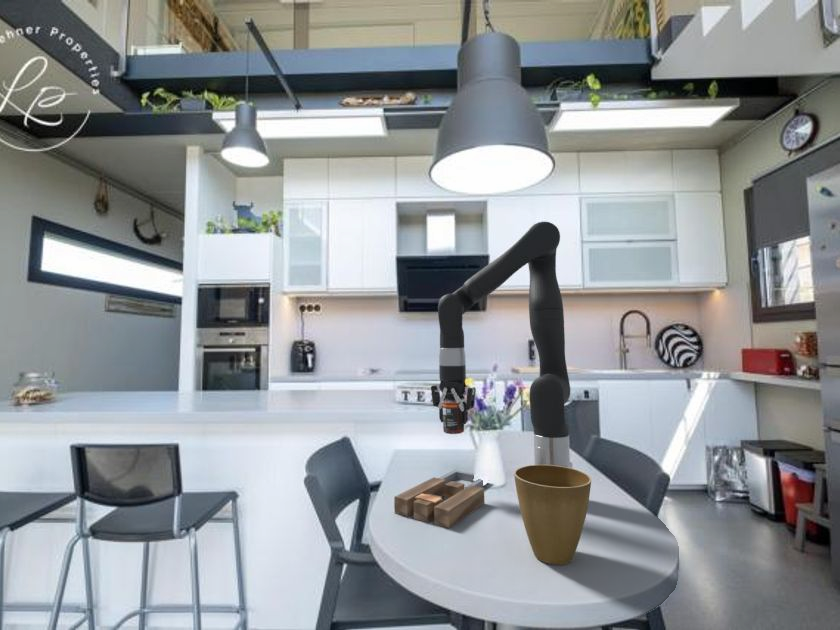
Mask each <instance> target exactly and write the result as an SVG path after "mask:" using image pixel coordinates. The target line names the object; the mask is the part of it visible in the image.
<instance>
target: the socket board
mask: <svg viewBox="0 0 840 630" xmlns="http://www.w3.org/2000/svg"><path fill="white" fill-rule="evenodd" d="M467 486H468V485H467ZM443 497H445V498H444V500H443V499H442V498H443ZM393 502H394V514H397V515H401V516H404V517H409V516H411V515H413V519H415V520H419V521H421V522H425V523H428V522H431V520H433V519H434V521H433V522H434V523H433V524H434V525H435V526H440V527H442V528H446V529H450V528H451V527H453V526H454V525H456V524H457V523H459V522H460V521H462V520H463V519H465V518H466V517H467V516H469V515H470V514H472V513H473V512H475V510H477V509H479V508H480V507H481V506H483V505H484V504H485V488H484V487H477V486H473V485H470V486H468V487H467V488H465V483H464V482H463V483H462V482H457V481H454V480H453V481H451V482H449V483H447V484H446V480H444V479H439V477H432V478H429V479H428V480H425V481H424V482H422V483H420V484H417V485H416V486H413V487H411V488H409V489H407V490H405V491H403V492H401V493H399V494H396V495H395V496H394V501H393Z"/></svg>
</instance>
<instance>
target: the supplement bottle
mask: <svg viewBox="0 0 840 630" xmlns="http://www.w3.org/2000/svg"><path fill="white" fill-rule="evenodd" d="M460 411H461V410H460V407H459V404H457V403H456V400H455V398H454V395H453V394H452V393H446V399H445V400H444V401H443V422H442V425H443V426H442V427H443V428H442V429H443V433H445V434H450V435H457V434H458V435H459V434H460V435H461V434H463V433H464V431H465V424H464V425H461V424H460Z"/></svg>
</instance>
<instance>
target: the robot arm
mask: <svg viewBox="0 0 840 630" xmlns="http://www.w3.org/2000/svg"><path fill="white" fill-rule="evenodd" d="M560 241H561V233H560V229H559V228H558V227H557V226H556V225H555V224H553V223H552V222H550V221H538V222H536V223H534V224H533V225H532V226H531V227H530V228H529V229H528V230H527V231H526V232H525V233H524V234H523V235H522V236H521V237H520V238H519V239H518V240H517V241H516V242H515V243H513V245H512V246H511V247H509V248H508V249H507V250H506V251H504V253H502V254H501V255H500V256H498V257H497V258H496V259H494V260H492V262H490V263H488V264H487V265H485V266H484V267H483V268H482V269H480V270H479V271H478V272H476V273H475V274H473V275H472V276H471V277H469V278H468V279H467V280H466V281H464V283H463V285H462V286H460V287H459V288H458V289H457V290H455V291H454V292H453V293H446V294H445V295H443V296H441V298H440V299H439V301H438V305H437V315H438V324H439V325H438V326H439V354H438V357H439V358H438V363H439V364H438V365H439V367H438V371H439V374H438V375H439V376H438V377H439V380H440V383H439V384H433V385H431V387H430V391H431V398H432V399H431V400H432V405H433V407H437V408H438V409H439V413H438V415H439V420H440V422H441V423H443V401H444V400H445V399H446V393H452V394H453V395H454V398H455V400H456V403H457V404H459V407H460V410H461V411H460V424H461V425H464V426H465V425H466V424H467V423H468V421H469V417H468V416H469V415H468V414H469V413H468V411H469V410H472V409H474V407H475V401H476V392H477V391H476V390H477V389H476V387H475V386H473V387H469V386H467V384H466V379H467V372H466V367H467V366H466V364H467V363H466V352H465V334H464V333H465V332H464V329H463V315H464V314H465V313H467V311H469V310H470V309H471V308H472V307H474V305H476V304H477V303H478V302H480V301H481V300H483V299H485V298H486V297H488V296H489V295H490V294H492V293H493V292H494V291H495V290H497V289H498V288H499V287H501V286H502V285H504V283H505V282H506V281H507V280H509V279H510V278H511V277H512V276H513V275H514V274H515V273H517V272H518V271H519V270H520V269H521V268H523V267H524V266H526V265H527V264H528V265H527V266H528V271H529V288H528V289H529V290H528V291H529V292H528V313H529V314H528V315H529V326H530V331H531V336H532V340H533V341H534V345H535V347H536V350H537V354H538V358H539V359H538V360H539V361H538V362H539V376H538V377H537V378H535V379H534V380H533V382H532V383H531V384H530V388H529V411H530V412H529V413H530V421H531V424H532V428H533V449H534V450H533V453H534V455H533V457H534V461H533V462H534V465H555V466H562V467H568V468H572V469H574V468H573V462H571V453H570V450H571V449H570V427H569V424H568V423H567V421H566V414H565V412H566V411H565V404H566V403H568V401H569V399H570V397H571V384H570V378H569V373H568V372H569V371H568V368H567V361H566V341H565V339H566V338H565V337H566V336H565V316H564V315H565V314H564V305H563V304H564V303H563V298H562V294H561V289H560V286H559V282H558V279H557V269H556V268H557V265H556V264H557V263H556V262H557V261H556V260H557V258H556V257H557V249H558V247H559V244H560ZM440 392H441V393H440ZM465 395H466V396H465Z"/></svg>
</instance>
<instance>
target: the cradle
mask: <svg viewBox="0 0 840 630" xmlns="http://www.w3.org/2000/svg"><path fill="white" fill-rule="evenodd" d="M474 474H475V473H473V472H468V471H462V470H457V469H453V470H452V471H450V472H448V473H445V474H444V475H441V476H440V477H438V478H439V479H444V480H446V484H447V483H449V482H451V481H454V480H456V479H457V480H463V481H468V482H472V483H470V484H468V485H466V486H464V489H465V488H467V487H468V486H470V485H473V486H477V487H482V488H484V487H483V480H481V479H478V480H476V481H474V482H473V479H474Z"/></svg>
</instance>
